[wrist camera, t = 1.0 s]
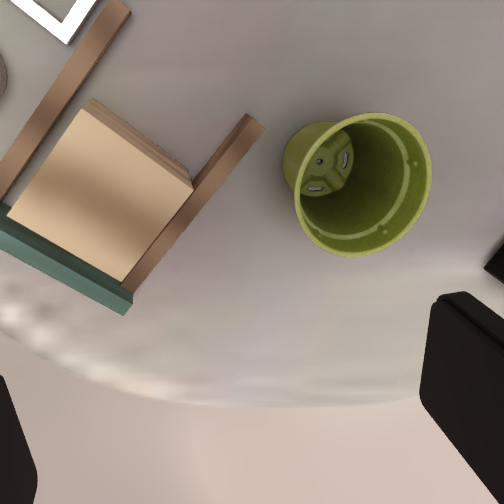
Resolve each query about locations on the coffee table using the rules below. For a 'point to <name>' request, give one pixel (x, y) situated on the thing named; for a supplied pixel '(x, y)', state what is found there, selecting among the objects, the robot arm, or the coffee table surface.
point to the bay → (103, 187)
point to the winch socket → (52, 24)
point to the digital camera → (497, 265)
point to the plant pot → (358, 181)
